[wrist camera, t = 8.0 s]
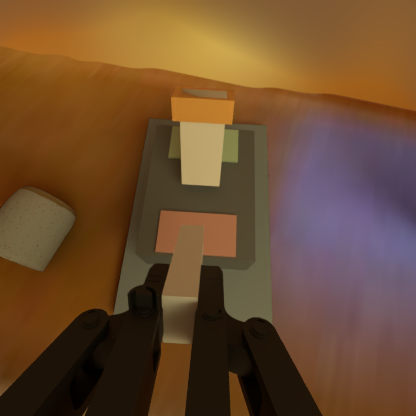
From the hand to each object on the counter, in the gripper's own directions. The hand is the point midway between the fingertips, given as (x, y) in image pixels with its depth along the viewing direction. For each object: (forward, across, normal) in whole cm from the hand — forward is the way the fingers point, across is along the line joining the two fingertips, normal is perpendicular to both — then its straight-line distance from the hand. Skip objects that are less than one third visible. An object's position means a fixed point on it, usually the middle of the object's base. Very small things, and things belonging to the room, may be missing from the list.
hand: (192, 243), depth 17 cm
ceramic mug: (+15, -21, -9) cm, 27 cm away
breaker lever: (+12, 0, 0) cm, 12 cm away
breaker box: (+18, 0, -5) cm, 18 cm away
